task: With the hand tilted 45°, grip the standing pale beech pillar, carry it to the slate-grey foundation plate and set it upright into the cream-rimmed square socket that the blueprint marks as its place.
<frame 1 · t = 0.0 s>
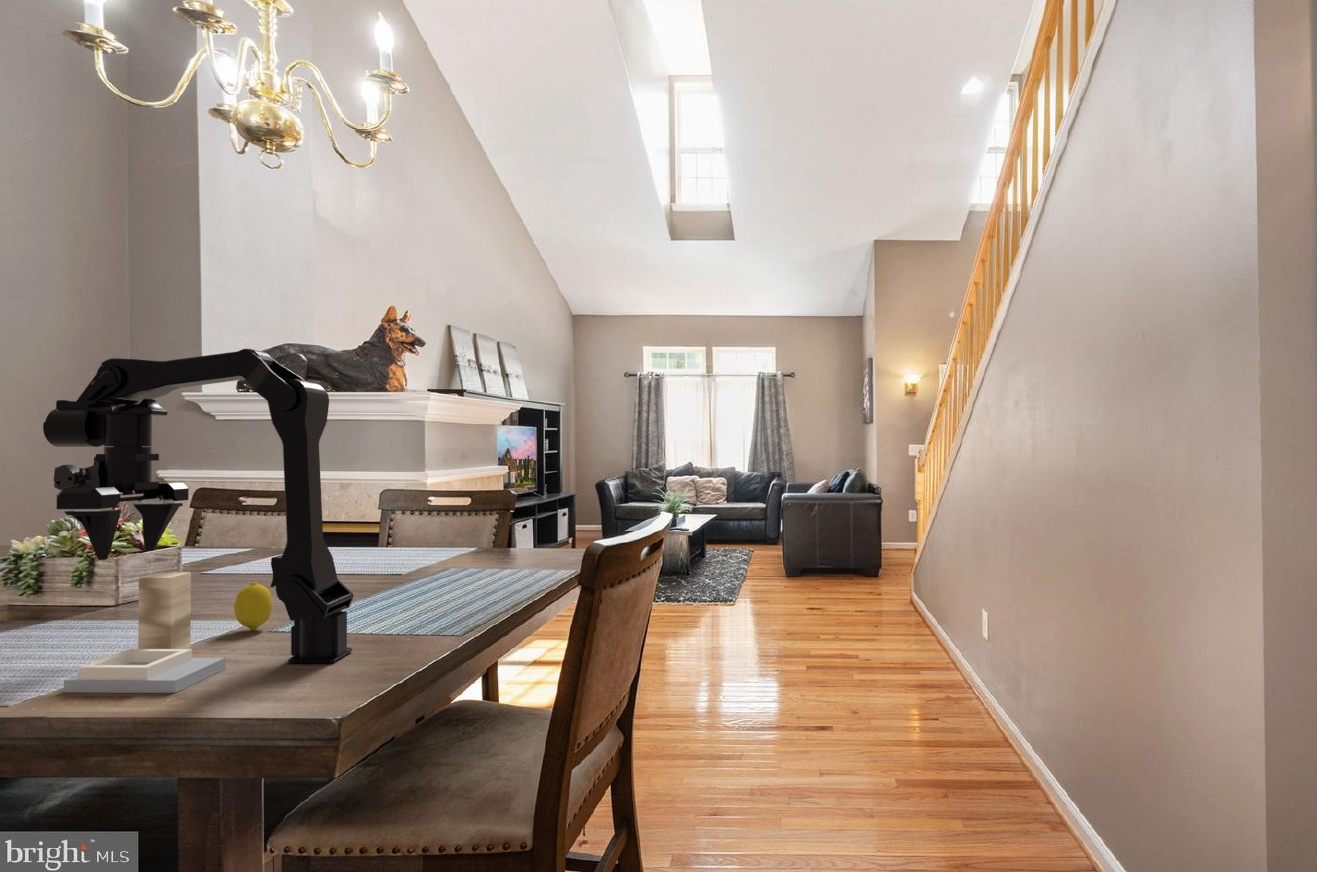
hand: (127, 555, 108), 15 cm above the table, tool pointing down, fingers open, 9 cm apart
lemon: (253, 631, 123), on the table
beech pillar: (164, 659, 106), on the table
foundation plate: (148, 679, 97), on the table
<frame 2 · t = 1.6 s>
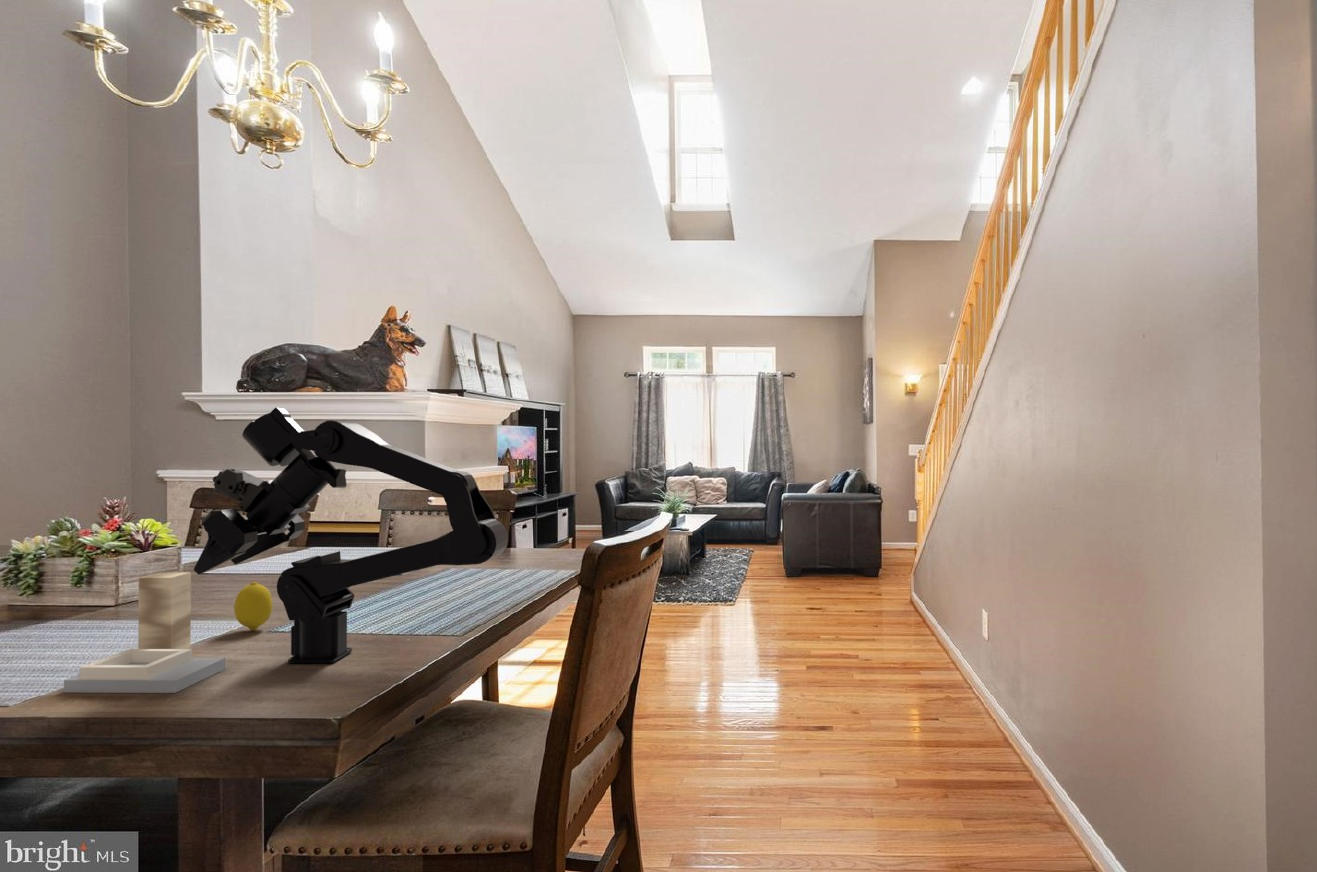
hand: (215, 566, 107), 13 cm above the table, tool tilted 45°, fingers open, 9 cm apart
nothing on the table moved.
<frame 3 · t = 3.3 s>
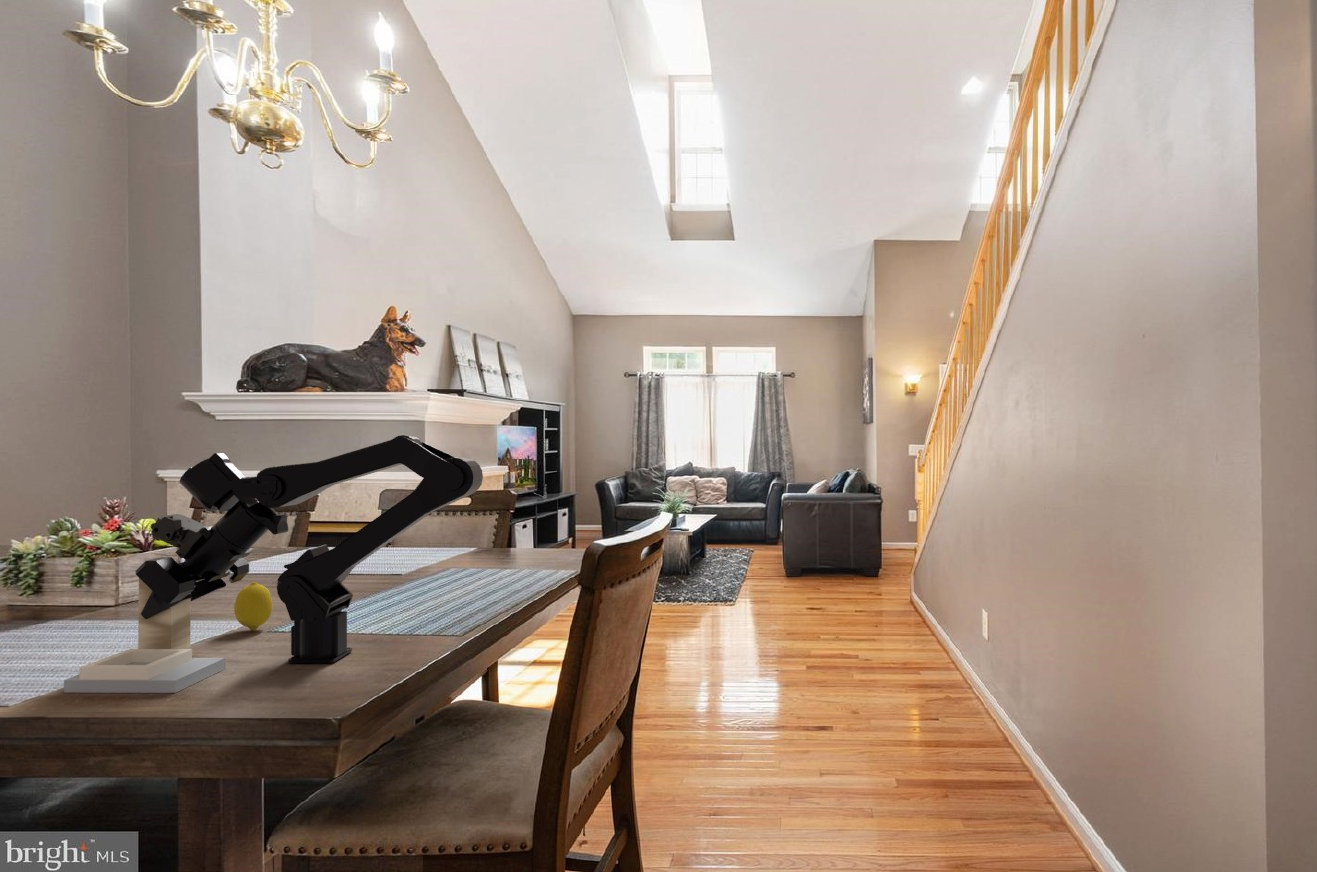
hand: (155, 612, 106), 7 cm above the table, tool tilted 45°, fingers closed on beech pillar, 4 cm apart
beech pillar: (164, 659, 106), on the table, touching gripper
everything else where it was.
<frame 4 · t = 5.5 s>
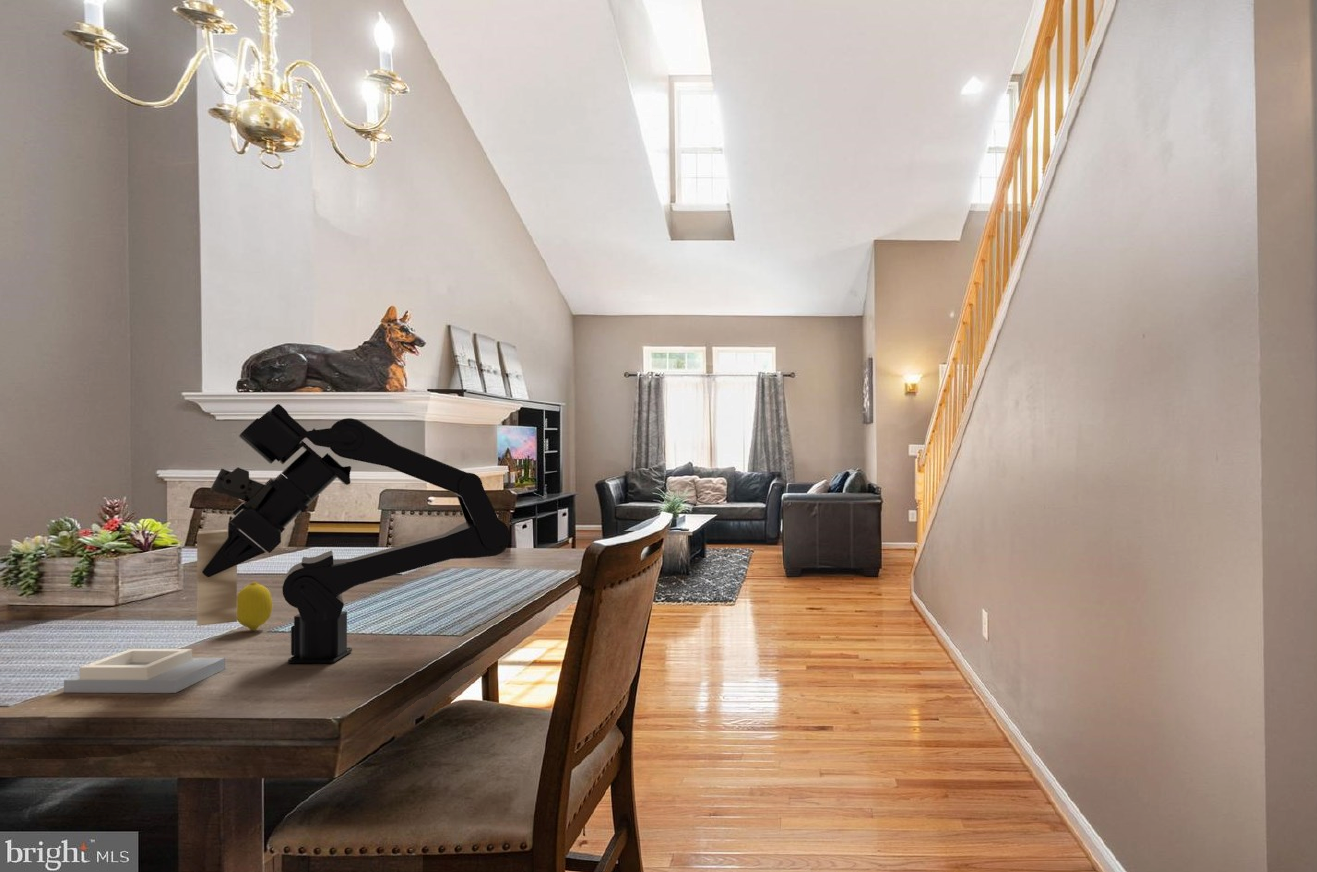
hand: (205, 572, 100), 13 cm above the table, tool tilted 45°, fingers closed on beech pillar, 4 cm apart
beech pillar: (217, 620, 101), point 7 cm above the table, touching gripper
everything else where it was.
when the fingers open (9 cm above the table, at t = 7.5 s): beech pillar drops 1 cm, resting on foundation plate.
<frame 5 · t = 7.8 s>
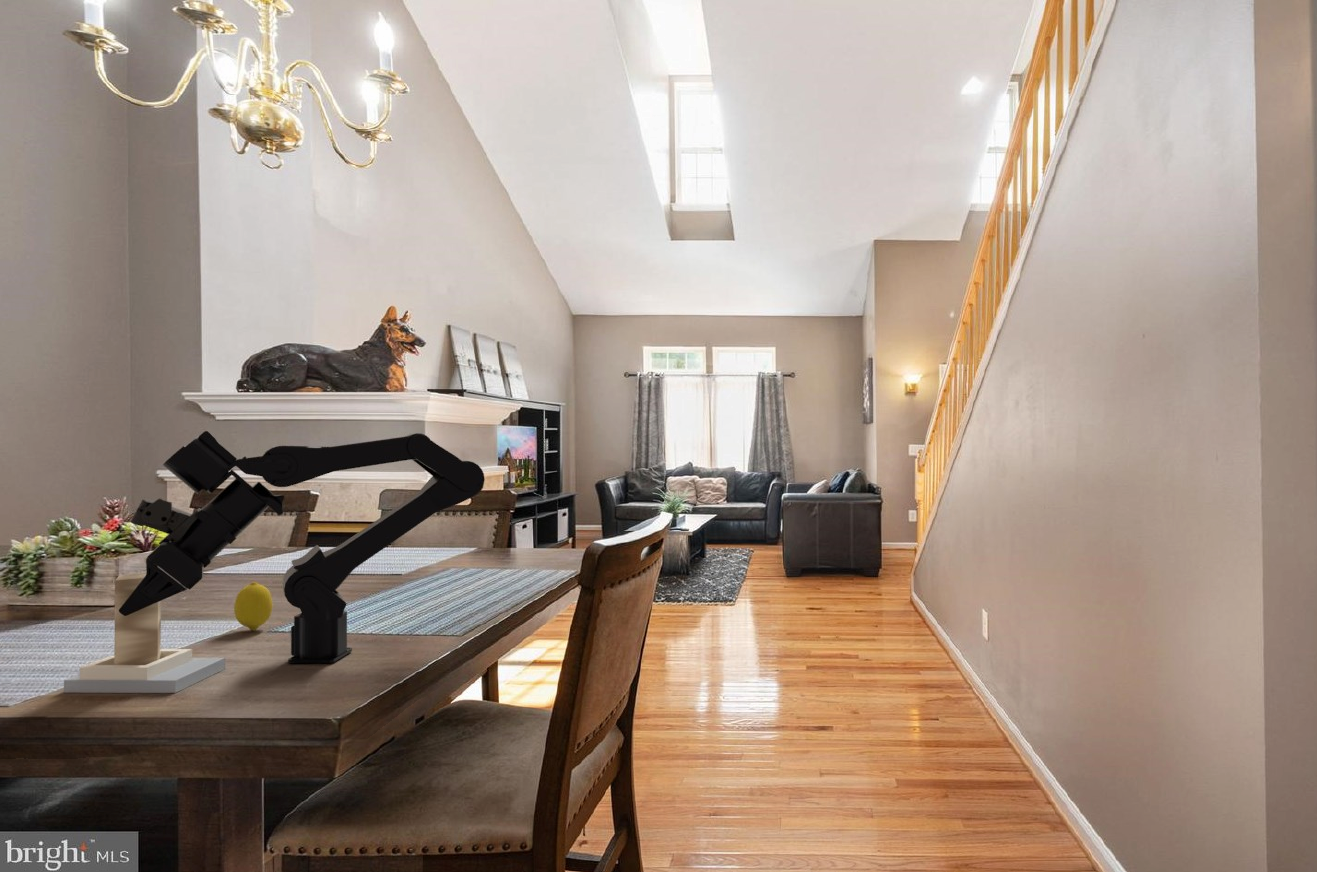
hand: (125, 607, 96), 10 cm above the table, tool tilted 45°, fingers open, 7 cm apart
beech pillar: (138, 669, 96), point 1 cm above the table, touching foundation plate
everything else where it was.
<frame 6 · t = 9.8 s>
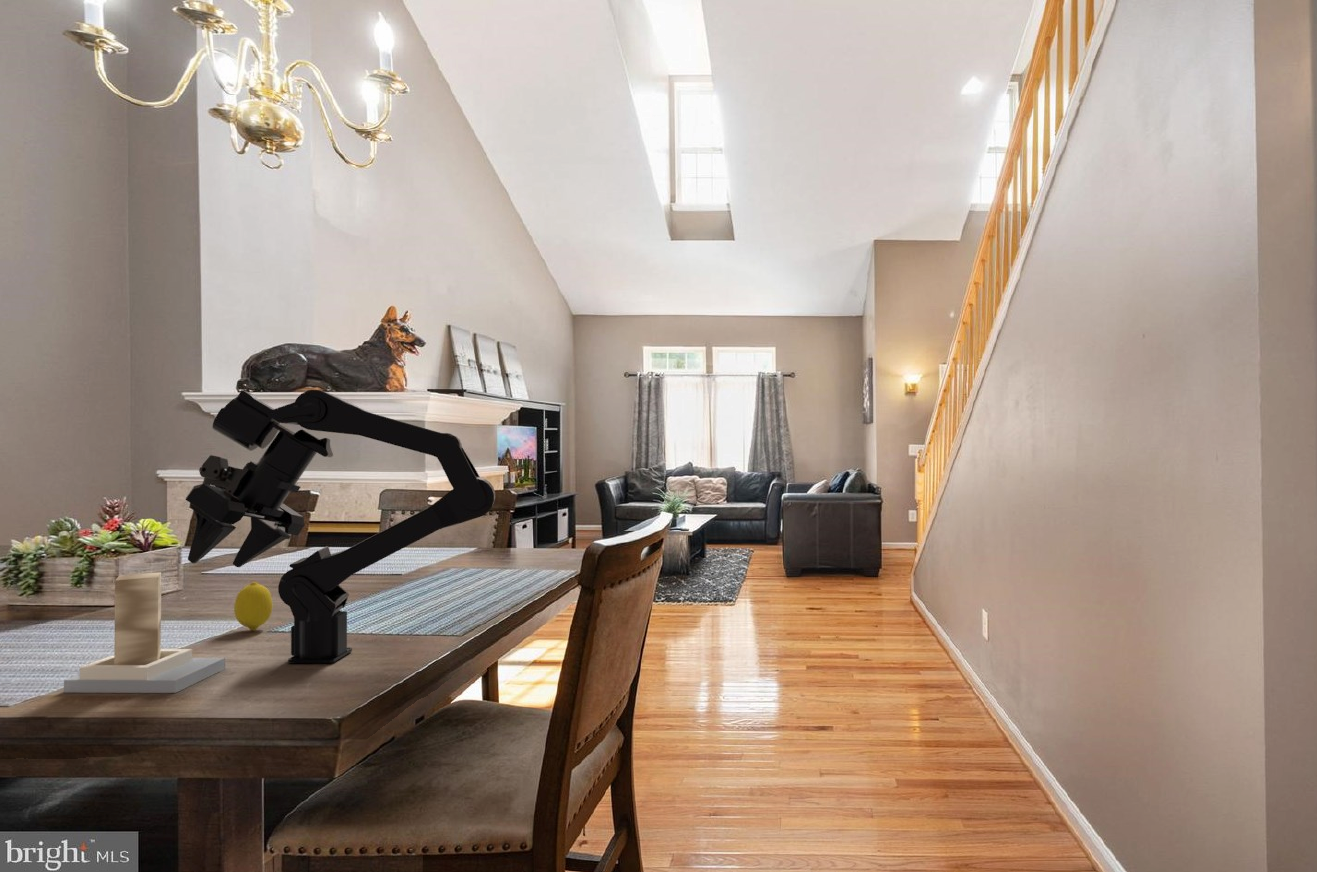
hand: (214, 563, 104), 14 cm above the table, tool tilted 30°, fingers open, 9 cm apart
nothing on the table moved.
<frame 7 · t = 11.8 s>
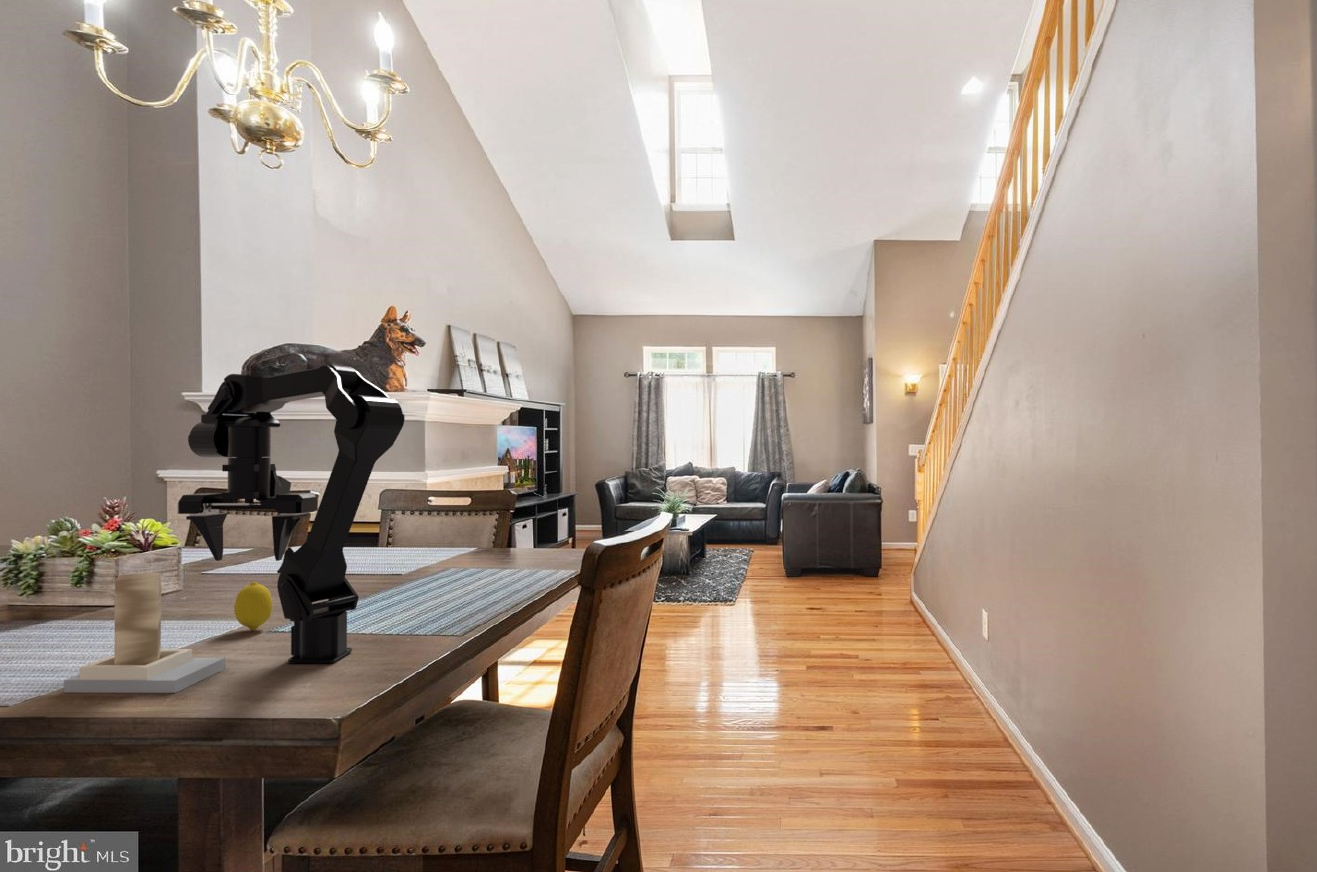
hand: (248, 560, 113), 13 cm above the table, tool pointing down, fingers open, 9 cm apart
nothing on the table moved.
at the end: beech pillar 0.0 cm from the target spot on the foundation plate, point 1.5 cm above the foundation plate's base; beech pillar tilted 0°; the gripper is holding nothing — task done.
